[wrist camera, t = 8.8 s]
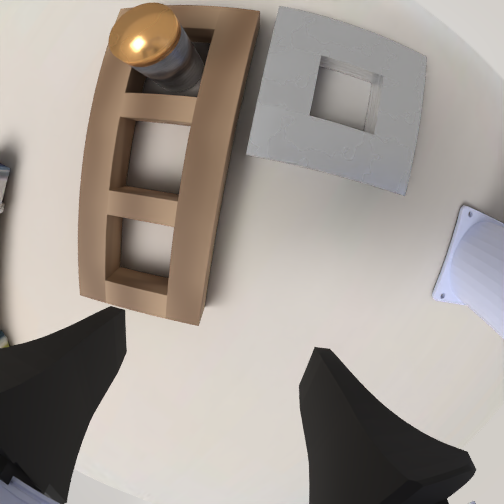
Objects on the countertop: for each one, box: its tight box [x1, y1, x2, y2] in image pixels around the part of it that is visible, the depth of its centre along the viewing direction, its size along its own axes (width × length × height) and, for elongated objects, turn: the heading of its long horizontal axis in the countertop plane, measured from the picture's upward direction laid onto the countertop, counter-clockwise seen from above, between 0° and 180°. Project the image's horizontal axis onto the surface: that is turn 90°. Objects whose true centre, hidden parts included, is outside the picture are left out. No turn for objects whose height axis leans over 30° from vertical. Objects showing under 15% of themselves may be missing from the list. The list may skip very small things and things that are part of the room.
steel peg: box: [109, 3, 204, 92], centre depth 12 cm, size 3×3×7 cm
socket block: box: [246, 6, 427, 196], centre depth 15 cm, size 10×10×2 cm
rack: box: [78, 5, 260, 326], centre depth 16 cm, size 9×20×2 cm, turn 169°
